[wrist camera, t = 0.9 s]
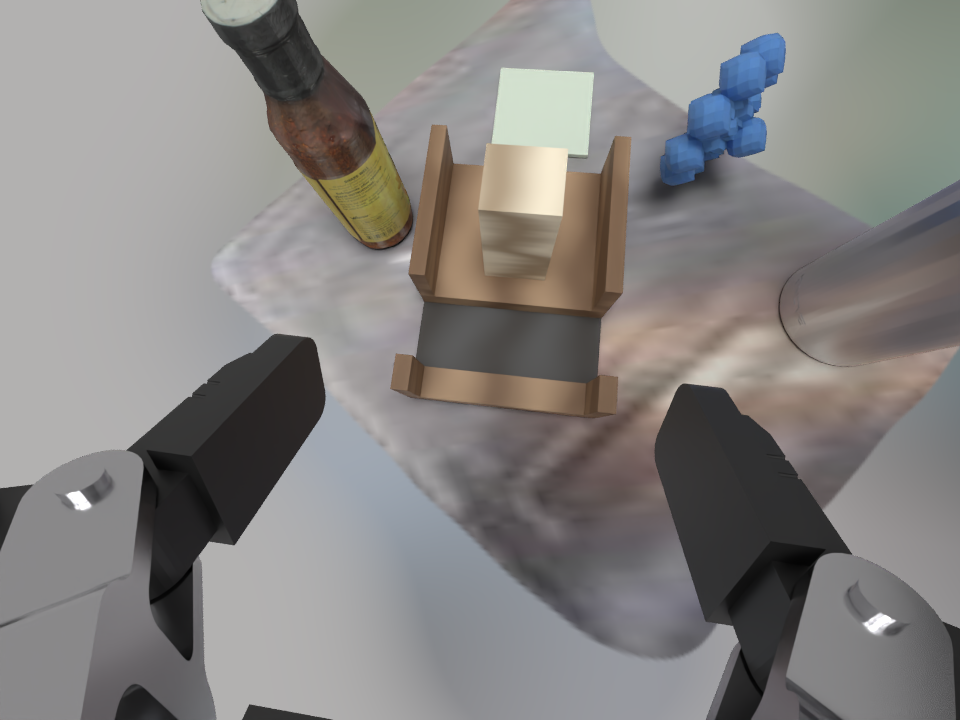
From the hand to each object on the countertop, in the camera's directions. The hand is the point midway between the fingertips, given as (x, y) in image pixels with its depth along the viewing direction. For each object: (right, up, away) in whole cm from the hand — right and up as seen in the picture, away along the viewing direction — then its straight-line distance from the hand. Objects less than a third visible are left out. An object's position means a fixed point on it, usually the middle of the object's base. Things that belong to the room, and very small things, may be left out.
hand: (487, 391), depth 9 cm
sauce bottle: (-9, +14, +29) cm, 33 cm away
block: (+3, +10, +25) cm, 27 cm away
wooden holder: (+3, +7, +27) cm, 28 cm away
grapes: (+19, +18, +28) cm, 38 cm away
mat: (+6, +24, +30) cm, 39 cm away
